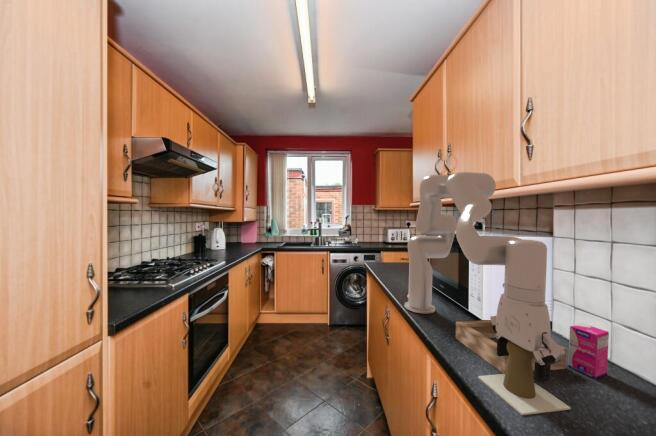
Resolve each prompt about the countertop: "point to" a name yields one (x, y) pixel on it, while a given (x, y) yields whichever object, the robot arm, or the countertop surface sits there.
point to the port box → (491, 344)
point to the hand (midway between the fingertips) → (520, 367)
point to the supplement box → (588, 350)
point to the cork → (519, 372)
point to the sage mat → (524, 405)
